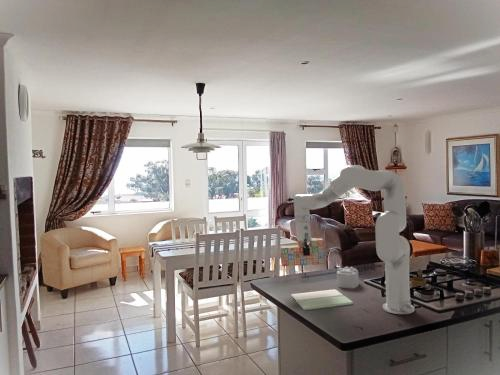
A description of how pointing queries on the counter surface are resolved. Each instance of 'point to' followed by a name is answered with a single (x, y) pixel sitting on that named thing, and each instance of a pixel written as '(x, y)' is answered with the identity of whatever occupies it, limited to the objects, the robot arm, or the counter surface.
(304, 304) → the sage mat
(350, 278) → the grey animal paw
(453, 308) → the counter surface
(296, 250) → the stack of blocks
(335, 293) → the cream mat
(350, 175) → the robot arm
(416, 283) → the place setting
